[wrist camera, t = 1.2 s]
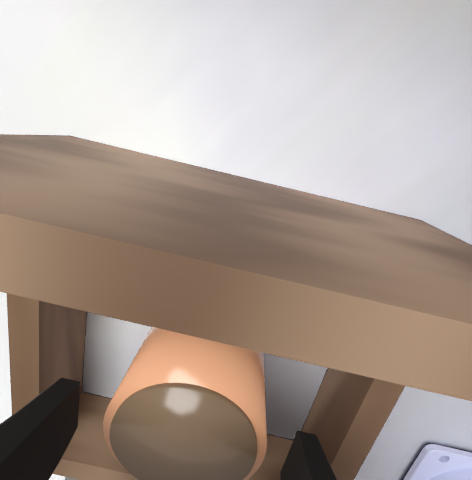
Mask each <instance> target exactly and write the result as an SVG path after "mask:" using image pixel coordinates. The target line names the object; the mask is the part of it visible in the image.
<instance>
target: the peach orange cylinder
mask: <svg viewBox="0 0 472 480" xmlns="http://www.w3.org/2000/svg"><path fill="white" fill-rule="evenodd" d="M103 432H104V437H105V440H106V443H107V446H108V448H109V450H110V452H111V453H112V455H113V456H114V458H115V459H116V460H117V461H118V462H119V464H120V465H121V466H122V467H123V468H125V469H126V470H127V471H128V472H129V473H130V474H132V475H133V476H134V477H136V478H137V479H138V480H248V479H249V478H250V477H251V476H252V475H253V474H254V473H255V472H256V471H257V470H258V469H259V467H260V466H261V464H262V462H263V460H264V457H265V454H266V448H267V431H266V403H265V375H264V353H263V352H258V351H254V350H250V349H245V348H241V347H237V346H232V345H228V344H224V343H220V342H215V341H211V340H207V339H202V338H198V337H194V336H189V335H185V334H181V333H177V332H172V331H168V330H164V329H159V328H155V327H152V328H151V329H150V331H149V333H148V335H147V337H146V338H145V340H144V342H143V344H142V346H141V347H140V349H139V351H138V353H137V355H136V357H135V358H134V360H133V362H132V364H131V366H130V367H129V369H128V371H127V373H126V375H125V376H124V378H123V380H122V382H121V384H120V385H119V387H118V389H117V391H116V393H115V394H114V396H113V398H112V400H111V402H110V403H109V405H108V407H107V410H106V412H105V415H104V420H103Z"/></svg>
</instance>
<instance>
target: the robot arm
mask: <svg viewBox="0 0 472 480" xmlns="http://www.w3.org/2000/svg"><path fill="white" fill-rule="evenodd" d="M79 397H80V382H79V381H75V380H70V379H66V378H60V379H58V380H57V381H56V382H55V383H53V384H52V385H51V386H50V387H48V388H47V389H46V390H44V391H43V392H42V393H41V394H39V395H38V396H37V397H36V398H34V399H33V400H32V401H30V402H29V403H28V404H27V405H25V406H24V407H23V408H21V409H20V410H19V411H17V412H16V413H15V414H13V415H12V416H11V417H9V418H8V419H7V420H5V421H4V422H3V423H1V424H0V480H49V478H50V477H51V475H52V473H53V472H54V470H55V469H56V467H57V465H58V464H59V462H60V460H61V458H62V456H63V454H64V453H65V451H66V449H67V447H68V445H69V443H70V441H71V439H72V437H73V435H74V433H75V431H76V429H77V427H78V414H79ZM280 480H337V478H336V476H335V474H334V472H333V470H332V468H331V466H330V464H329V461H328V459H327V457H326V455H325V453H324V450H323V448H322V446H321V444H320V442H319V440H318V437H317V436H316V435H315V434H310V433H306V432H301V431H297V433H296V436H295V438H294V440H293V443H292V445H291V448H290V450H289V452H288V455H287V457H286V460H285V462H284V464H283V467H282V469H281V472H280ZM403 480H472V453H471V452H467V451H462V450H458V449H454V448H449V447H445V446H441V445H436V444H428V445H426V446H425V447H424V448H423V449H422V451H421V453H420V454H419V456H418V457H417V459H416V460H415V462H414V464H413V465H412V467H411V468H410V470H409V471H408V473H407V475H406V476H405V478H404V479H403Z"/></svg>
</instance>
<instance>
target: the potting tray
mask: <svg viewBox="0 0 472 480" xmlns="http://www.w3.org/2000/svg"><path fill="white" fill-rule="evenodd" d="M0 292H4V293H7V308H8V331H9V354H10V376H11V399H12V415H13V414H15V413H16V412H17V411H19V410H20V409H21V408H23V407H24V406H25V405H27V404H28V403H29V402H30V401H32V400H33V399H34V398H36V397H37V396H38V395H39V394H41V393H42V392H43V391H44V390H46V389H47V388H48V387H50V386H51V385H52V384H53V383H55V382H56V381H57V380H58V379H60V378H66V379H70V380H75V381H79V382H80V397H79V414H78V427H77V429H76V431H75V433H74V435H73V437H72V439H71V441H70V443H69V445H68V447H67V449H66V451H65V453H64V454H63V456H62V458H61V460H60V462H59V464H58V465H57V467H56V469H55V470H54V472H53V473H52V474H57V475H61V476H65V477H70V478H74V479H79V480H138V479H137V478H136V477H134V476H133V475H132V474H130V473H129V472H128V471H127V470H126V469H125V468H123V467H122V466H121V465H120V464H119V462H118V461H117V460H116V459H115V458H114V456H113V455H112V453H111V452H110V450H109V448H108V446H107V443H106V440H105V437H104V432H103V420H104V415H105V412H106V410H107V407H108V405H109V403H110V402H111V400H112V399H110V398H105V397H101V396H97V395H92V394H88V393H83V392H82V377H83V361H84V345H85V329H86V313H87V312H91V313H95V314H99V315H103V316H108V317H112V318H116V319H121V320H125V321H129V322H134V323H138V324H142V325H146V326H151V327H155V328H159V329H164V330H168V331H172V332H177V333H181V334H185V335H189V336H194V337H198V338H202V339H207V340H211V341H215V342H220V343H224V344H228V345H232V346H237V347H241V348H245V349H250V350H254V351H258V352H263V353H267V354H271V355H275V356H280V357H284V358H288V359H293V360H297V361H301V362H306V363H310V364H314V365H318V366H323V367H327V368H328V369H327V372H326V374H325V377H324V379H323V381H322V384H321V386H320V388H319V391H318V393H317V396H316V398H315V400H314V403H313V405H312V407H311V410H310V412H309V414H308V417H307V419H306V422H305V424H304V426H303V429H302V431H301V432H306V433H310V434H315V435H316V436H317V437H318V440H319V442H320V444H321V446H322V448H323V450H324V453H325V455H326V457H327V459H328V461H329V464H330V466H331V468H332V470H333V472H334V474H335V476H336V478H337V480H354V478H355V476H356V475H357V473H358V471H359V469H360V467H361V466H362V464H363V462H364V460H365V458H366V456H367V455H368V453H369V451H370V449H371V447H372V446H373V444H374V442H375V440H376V438H377V436H378V435H379V433H380V431H381V429H382V427H383V426H384V424H385V422H386V420H387V418H388V416H389V415H390V413H391V411H392V409H393V407H394V406H395V404H396V402H397V400H398V398H399V396H400V395H401V393H402V391H403V389H404V387H405V386H409V387H413V388H417V389H422V390H426V391H430V392H435V393H439V394H443V395H448V396H452V397H456V398H460V399H465V400H469V401H472V245H470V244H468V243H466V242H464V241H462V240H460V239H458V238H456V237H454V236H452V235H450V234H448V233H446V232H444V231H442V230H440V229H438V228H436V227H434V226H432V225H430V224H428V223H426V222H424V221H422V220H418V219H414V218H410V217H406V216H402V215H398V214H393V213H389V212H385V211H381V210H377V209H373V208H368V207H364V206H360V205H356V204H352V203H348V202H343V201H339V200H335V199H331V198H327V197H323V196H318V195H314V194H310V193H306V192H302V191H298V190H293V189H289V188H285V187H281V186H277V185H273V184H268V183H264V182H260V181H256V180H252V179H248V178H243V177H239V176H235V175H231V174H227V173H223V172H218V171H214V170H210V169H206V168H202V167H198V166H193V165H189V164H185V163H181V162H177V161H173V160H168V159H164V158H160V157H156V156H152V155H148V154H143V153H139V152H135V151H131V150H127V149H123V148H118V147H114V146H110V145H106V144H102V143H98V142H93V141H89V140H85V139H81V138H77V137H73V136H59V135H0ZM292 443H293V440H289V439H284V438H280V437H276V436H271V435H267V448H266V454H265V457H264V460H263V462H262V464H261V466H260V467H259V469H258V470H257V471H256V472H255V473H254V474H253V475H252V476H251V477H250V478H249V479H248V480H280V472H281V469H282V467H283V464H284V462H285V460H286V457H287V455H288V452H289V450H290V448H291V445H292Z"/></svg>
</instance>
